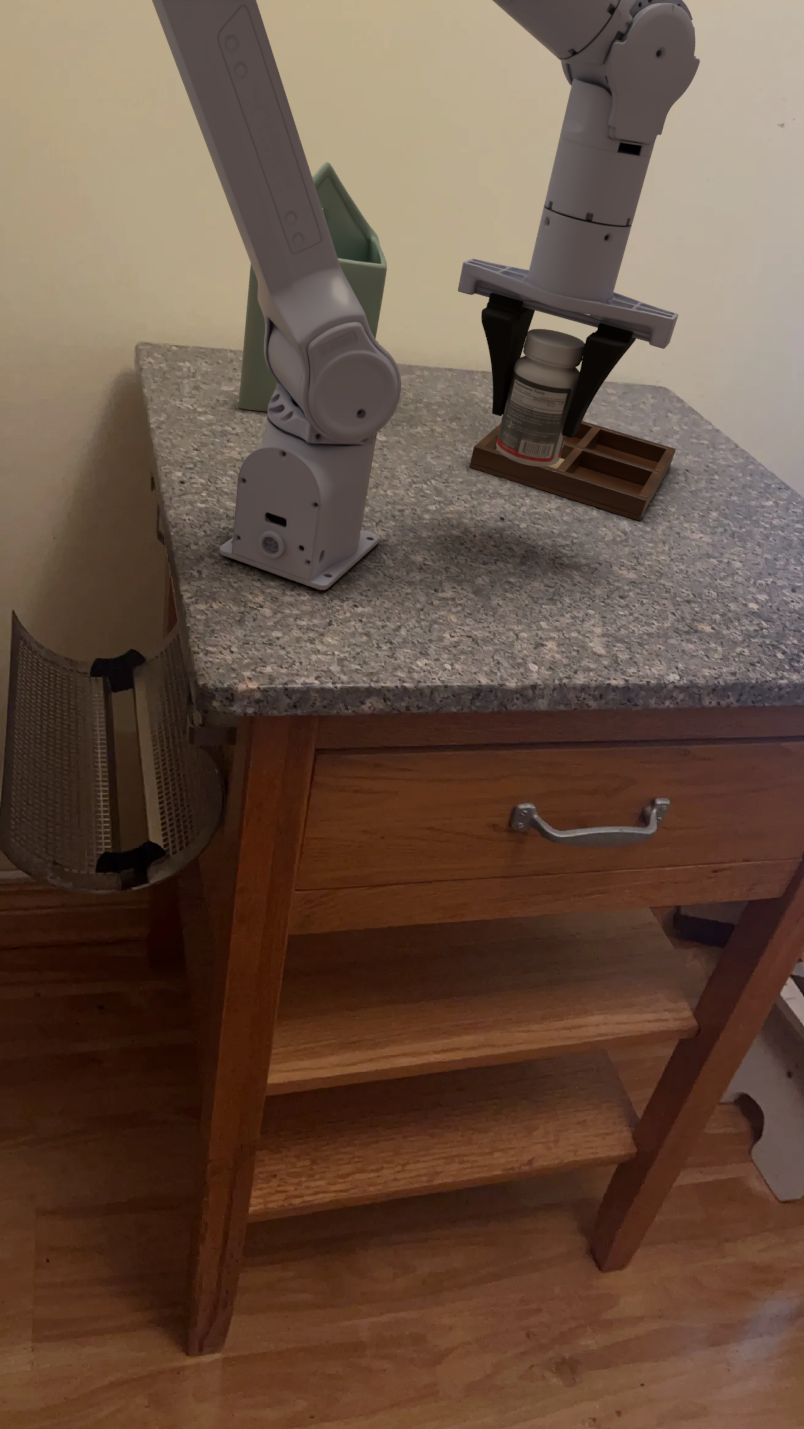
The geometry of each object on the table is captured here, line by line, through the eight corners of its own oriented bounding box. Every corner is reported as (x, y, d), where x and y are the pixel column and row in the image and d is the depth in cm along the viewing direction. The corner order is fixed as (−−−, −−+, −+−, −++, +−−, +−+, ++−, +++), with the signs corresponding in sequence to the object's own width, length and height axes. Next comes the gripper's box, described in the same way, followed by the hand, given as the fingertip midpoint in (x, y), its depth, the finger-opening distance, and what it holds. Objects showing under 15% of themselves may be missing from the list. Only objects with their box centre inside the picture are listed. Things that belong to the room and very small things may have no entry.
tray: (639, 521, 87) (646, 500, 86) (469, 467, 90) (473, 446, 89) (669, 467, 99) (676, 448, 98) (518, 421, 102) (523, 402, 101)
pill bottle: (518, 437, 77) (546, 323, 73) (571, 460, 75) (603, 344, 70) (482, 448, 74) (508, 329, 69) (536, 473, 72) (567, 352, 67)
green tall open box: (302, 437, 89) (333, 185, 77) (236, 406, 92) (257, 160, 81) (414, 407, 100) (455, 184, 89) (352, 380, 104) (384, 162, 92)
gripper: (708, 236, 67) (644, 436, 75) (500, 183, 70) (459, 381, 78) (691, 249, 61) (624, 464, 69) (466, 192, 65) (426, 403, 72)
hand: (535, 422), depth 73 cm, fingers closed on pill bottle, 5 cm apart
